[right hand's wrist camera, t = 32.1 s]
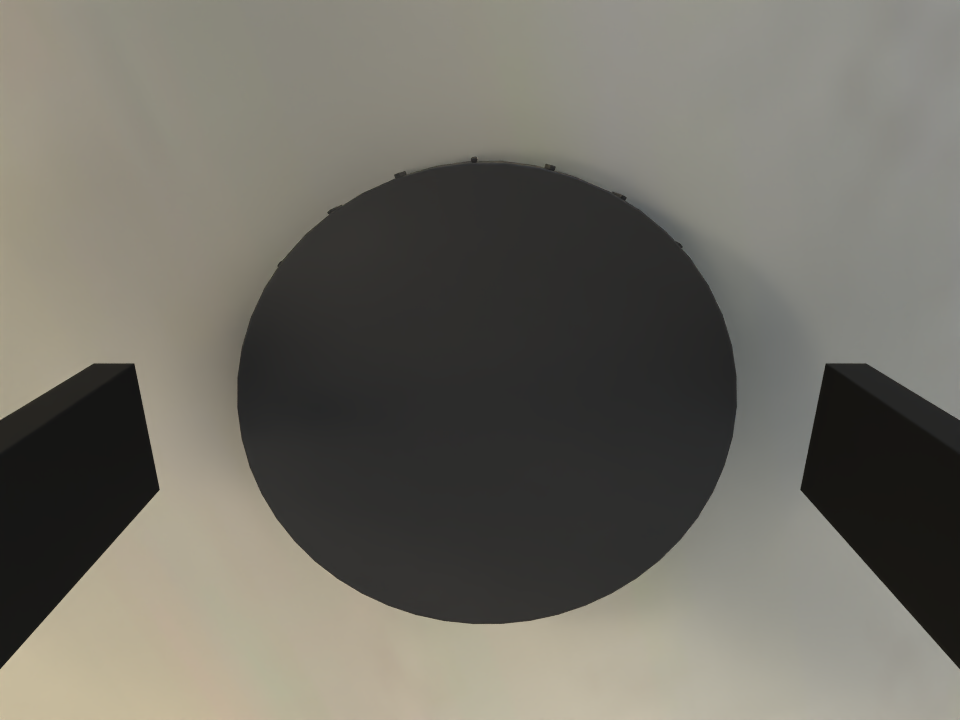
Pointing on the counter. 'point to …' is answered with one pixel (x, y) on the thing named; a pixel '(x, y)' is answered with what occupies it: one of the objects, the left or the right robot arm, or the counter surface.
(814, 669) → the counter surface
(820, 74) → the counter surface
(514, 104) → the counter surface
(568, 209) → the lid
